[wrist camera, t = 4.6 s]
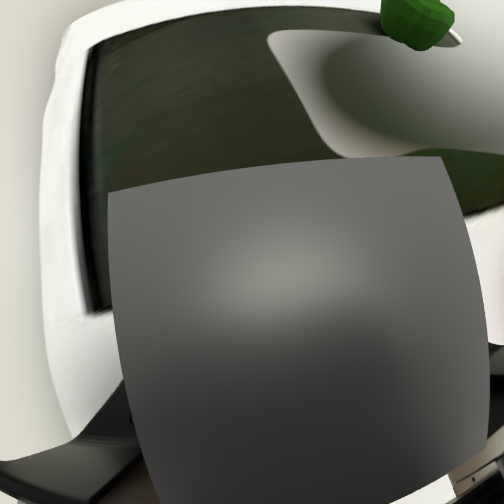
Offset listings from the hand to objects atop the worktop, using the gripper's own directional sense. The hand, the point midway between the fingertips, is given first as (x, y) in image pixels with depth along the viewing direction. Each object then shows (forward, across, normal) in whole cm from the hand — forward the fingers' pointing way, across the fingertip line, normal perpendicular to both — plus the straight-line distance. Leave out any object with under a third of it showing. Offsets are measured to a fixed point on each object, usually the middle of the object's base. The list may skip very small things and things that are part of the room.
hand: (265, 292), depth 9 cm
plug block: (+4, 0, +6) cm, 7 cm away
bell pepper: (+24, -23, -13) cm, 36 cm away
